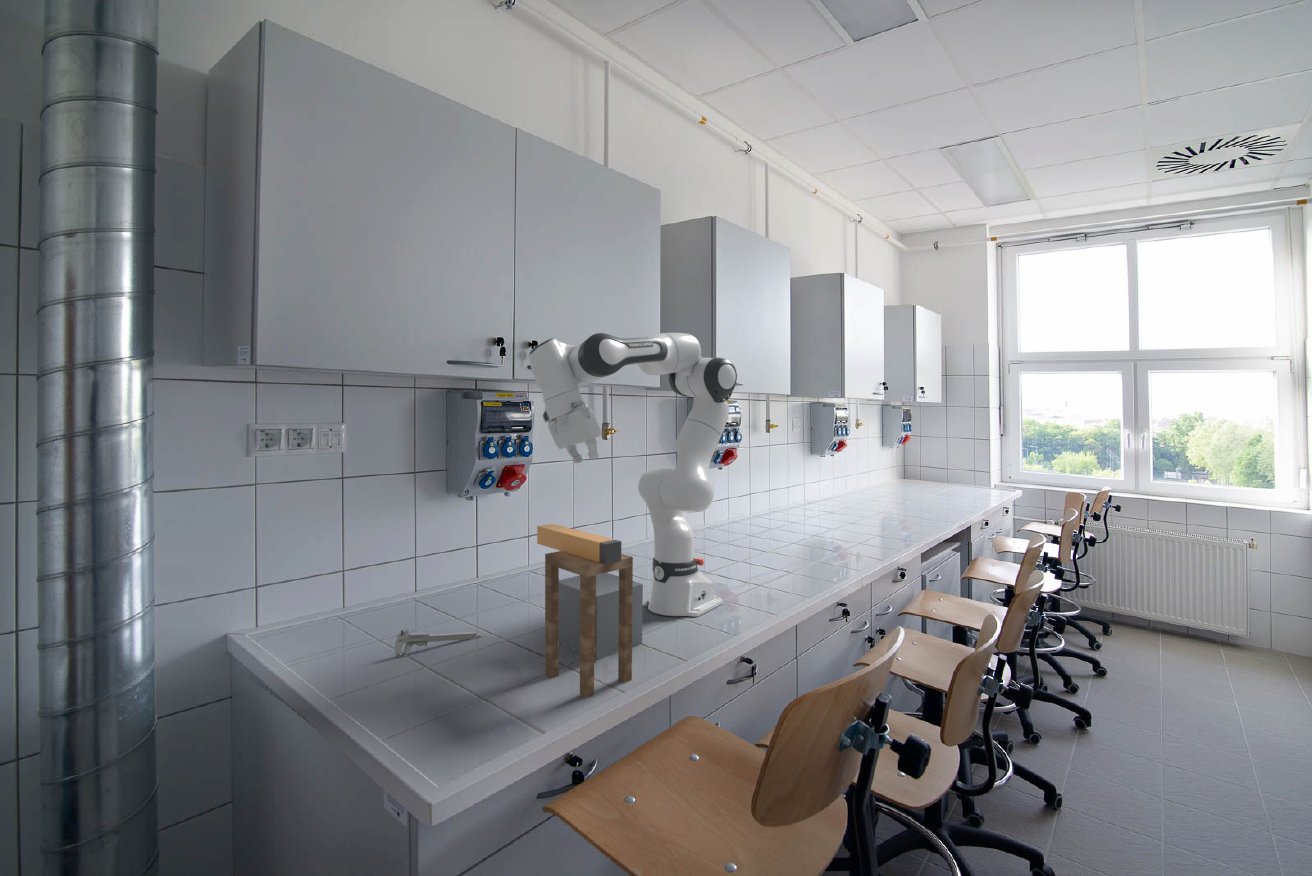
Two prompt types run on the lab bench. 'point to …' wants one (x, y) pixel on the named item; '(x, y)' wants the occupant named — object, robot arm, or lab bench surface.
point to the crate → (598, 613)
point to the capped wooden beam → (579, 543)
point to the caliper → (427, 639)
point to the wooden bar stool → (587, 614)
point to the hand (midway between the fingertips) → (586, 460)
